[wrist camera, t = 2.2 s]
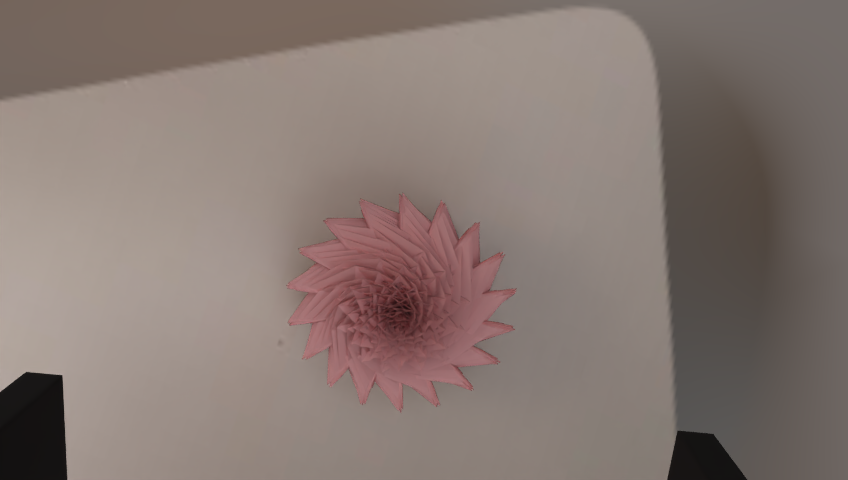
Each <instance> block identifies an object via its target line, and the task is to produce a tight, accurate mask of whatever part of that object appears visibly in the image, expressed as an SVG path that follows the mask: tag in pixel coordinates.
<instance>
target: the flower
mask: <svg viewBox="0 0 848 480" xmlns="http://www.w3.org/2000/svg"><path fill="white" fill-rule="evenodd" d="M360 200H361V202H360V201H359V202H360V206H361V208H362V210H361V211H362V213H363V216H364V218H327V219H326V220H327V221H325V220H323V221H324V222H325V223H326V225H327V226H328V227H329V229H330V230H331V231H332V232H333V234H334V235H335V236H336V237H337V238H338V239H335V240H331V241H327V242H323V243H319V244H314V245H310V246H306V247H302V248H298V249H299V250H300V251H301V252H299V253H301V254H302V255H304V256H306V257H308V258H310V259H312V260H314V261H315V262H316V263H315V264H314V265H313V266H312V267H311V268H310V269H308V270H307V271H306V272H304V273H303V274H301V275H300V276H298V277H297V278H295V279H294V280H292V281H291V282H289V283H288V285H286V286H288V287H287V288H289V289H295V290H297V291H304V292H309V293H308V294H307V296H306V297H305V298H304V300H303V301H302V303H301V304H300V305H299V307H298V308H297V309H296V311H295V312H294V314H293V315H292V316H291V318H290V319H289V321H288V323H291V324H290V325H297V324H305V323H313V324H312V328H311V331H310V335H309V339H308V342H307V346H306V349H305V352H304V355H303V358H302V359H304V358H306V357H307V358H306V359H308V358H310V357H312V356H314V355H316V354H317V353H319V352H321V351H323V350H325V349H326V348H328V347H329V358H328V378H327V385H328V384H329V383H330V386H331V387H332V386H333V384H334V383H335V382H336V381H337V380H338V379H339V378H340V377H341V376H342V375H343V374H344V373H345V372H346V370H347V369H349V371H350V374H351V376H352V379H353V382H354V384H355V387H356V389H357V392H358V396H359V400H360V404H361V403H362V405H363V403H366V400H367V397H368V395H369V392H370V389H371V387H373V385H374V382H376V383H377V384H378V386H379V387H380V388H381V389H382V390H383V392H384V393H385V394H386V395H387V396H388V398H389V399H390V400H391V402H392V403H393V404H394V406H395V407H396V408H397V410H398V411H400V412H401V408H402V409H403V386H402V383H403V384H405V385H408V386H410V387H412V388H413V389H414V390H416V391H417V392H418V393H419V394H421V395H422V396H423V397H424V398H426V399H427V400H428V401H430V402H431V403H432V404H433V405H435V406H436V407H437V405H439V406H440V403H439V400H438V397H437V395H436V392H435V389H434V386H433V384H432V381H438V382H445V383H451V384H455V385H457V386H460V387H463V388H466V389H468V390H471V389H473V388H472V387H473V386H472V385H471V383H470V382H469V381H468V380H467V379H466V378H465V377H464V376H463V375H462V374H463V373H462V372H461V371H460V370H459V369H458V368H457V367H465V366H476V365H486V364H498V363H496V362H499V363H501V362H500V361H498V360H496V359H498V358H496V357H494V356H492V355H490V354H488V353H487V352H485V351H483V350H481V349H479V348H477V347H475V346H474V344H476V343H477V342H479V341H483V340H486V339H489V338H492V337H495V336H498V335H501V334H504V333H507V332H510V331H513V330H515V329H513V326H511V325H505V324H504V323H499V322H492V321H487V320H488V319H489V318H490V317H491V315H492V314H493V313H494V312H495V311H496V309H497V308H498V307H499V306H500V305H501V303H502V302H504V301H505V300H507V299H508V298H509V297H511V296H512V295H514V294H515V292H516V291H515V290H516V289H517V288H516V289H506V290H500V291H497V290H495V291H490V288H491V286H492V283H493V281H494V278H495V276H496V273H497V271H498V268H499V266H500V263H501V261H502V259H503V257H504V256H505V254H504V255H502V254H503V252H502V253H500V252H499V253H497V254H496V255H494V256H492V257H490V258H488V259H487V260H485V261H483V262H481V263H480V251H479V226H480V222H479V223H478V224H477V223H476V222H475V223H474V225H473V226H472V227H471V228H470V229H468V230H467V231H466V232H465V233H464V234H463V236H462V237H461V238H460V239H459V238H458V236H457V233H456V230H455V228H454V225H453V223H452V220H451V217H450V215H449V212H448V210H447V207H446V205H445V204H443V202H442V200H441V202H440V205H439V206H438V208H437V210H436V213H435V216H434V219H433V221H432V222H431V221H430V220H429V219H428V218H427V217H425V216H424V215H423V214H422V213H421V212H420V211H419V210H418V209H417V208H416V207H415V206H414V205H413V204H412V203H411V202H410V200H409V199H408V198H407V197H406V196H405V195H404V193H402V196H401V195H400V194H399V213H397V212H393V211H390V210H388V209H385V208H383V207H380V206H378V205H375V204H373V203H370V202H368V201H365V200H362V199H361V198H360ZM501 255H502V256H501ZM290 325H289V326H290ZM461 373H462V374H461ZM330 386H329V387H330ZM470 388H471V389H470ZM473 390H474V389H473ZM471 391H472V390H471ZM436 404H437V405H436Z"/></svg>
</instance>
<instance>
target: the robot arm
mask: <svg viewBox="0 0 848 480" xmlns="http://www.w3.org/2000/svg"><path fill="white" fill-rule="evenodd" d="M0 480H67V465H66V443H65V422H64V400H63V378H62V375H53V374H41V373H30V372H26V373H24V374H23V375H22V376H20V377H19V378H18V379H17V380H15V381H14V382H13V383H11V384H10V385H9V386H7V387H6V388H5V389H4V390H2V391H1V392H0ZM667 480H747V479H746V477H745V476H744V475H743V473H742V472H741V471H740V469H739V468H738V467H737V465H736V464H735V463H734V461H733V460H732V459H731V457H730V456H729V455H728V453H727V452H726V451H725V449H724V448H723V447H722V445H721V444H720V443H719V441H718V440H717V439H716V437H715V436H714V434H708V433H697V432H686V431H677V436H676V441H675V446H674V450H673V455H672V460H671V465H670V470H669V474H668V479H667Z"/></svg>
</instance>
